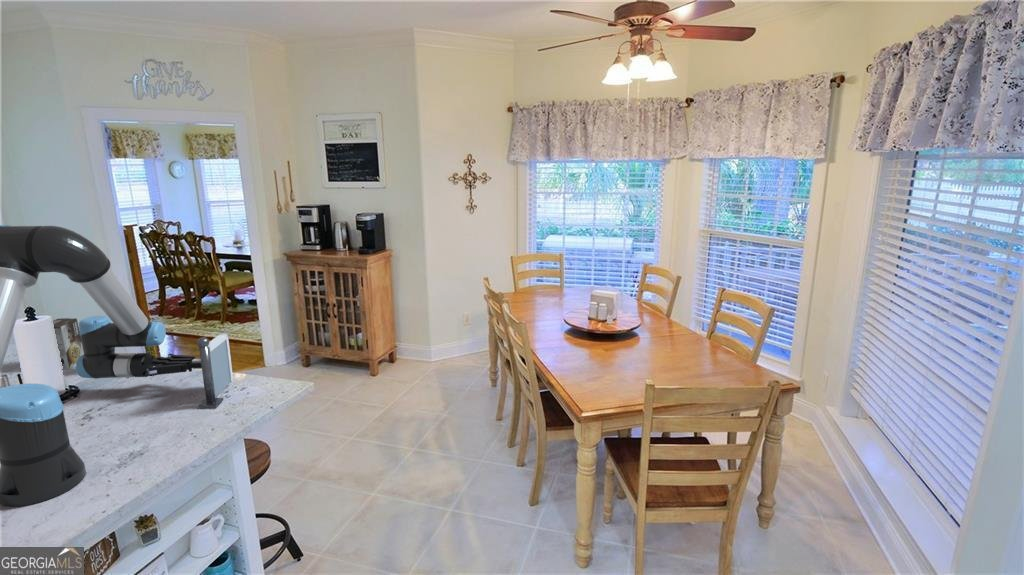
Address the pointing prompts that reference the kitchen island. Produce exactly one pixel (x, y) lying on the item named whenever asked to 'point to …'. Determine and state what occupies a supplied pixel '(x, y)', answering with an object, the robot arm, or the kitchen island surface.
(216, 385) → the panel
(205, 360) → the metal joystick
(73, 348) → the coffee box
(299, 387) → the kitchen island surface
